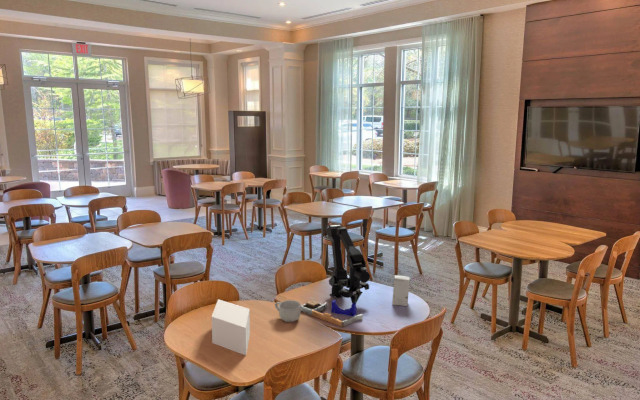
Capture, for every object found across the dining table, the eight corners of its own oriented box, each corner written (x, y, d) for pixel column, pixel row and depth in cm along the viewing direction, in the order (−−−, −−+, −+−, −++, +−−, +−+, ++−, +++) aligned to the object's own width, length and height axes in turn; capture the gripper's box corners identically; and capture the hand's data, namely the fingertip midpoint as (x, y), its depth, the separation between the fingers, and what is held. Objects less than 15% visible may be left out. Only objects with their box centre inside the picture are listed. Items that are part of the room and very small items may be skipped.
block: (236, 320, 232) (235, 296, 230) (265, 351, 203) (265, 323, 200) (200, 327, 224) (199, 302, 222) (225, 361, 194) (225, 332, 192)
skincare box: (392, 305, 254) (393, 278, 251) (392, 300, 259) (394, 274, 257) (408, 306, 252) (409, 279, 249) (408, 302, 258) (409, 275, 255)
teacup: (305, 319, 234) (305, 304, 232) (289, 326, 226) (289, 310, 225) (285, 311, 243) (285, 296, 242) (269, 317, 235) (269, 302, 234)
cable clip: (356, 313, 243) (356, 302, 242) (354, 316, 238) (354, 305, 237) (334, 309, 247) (334, 298, 246) (331, 313, 243) (331, 301, 242)
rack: (317, 303, 254) (317, 296, 254) (362, 319, 235) (363, 311, 234) (299, 310, 244) (299, 303, 244) (345, 328, 225) (345, 320, 224)
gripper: (353, 268, 259) (352, 296, 262) (331, 277, 245) (330, 306, 248) (370, 273, 252) (369, 301, 254) (348, 282, 238) (347, 312, 241)
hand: (353, 305), depth 250 cm, fingers closed
